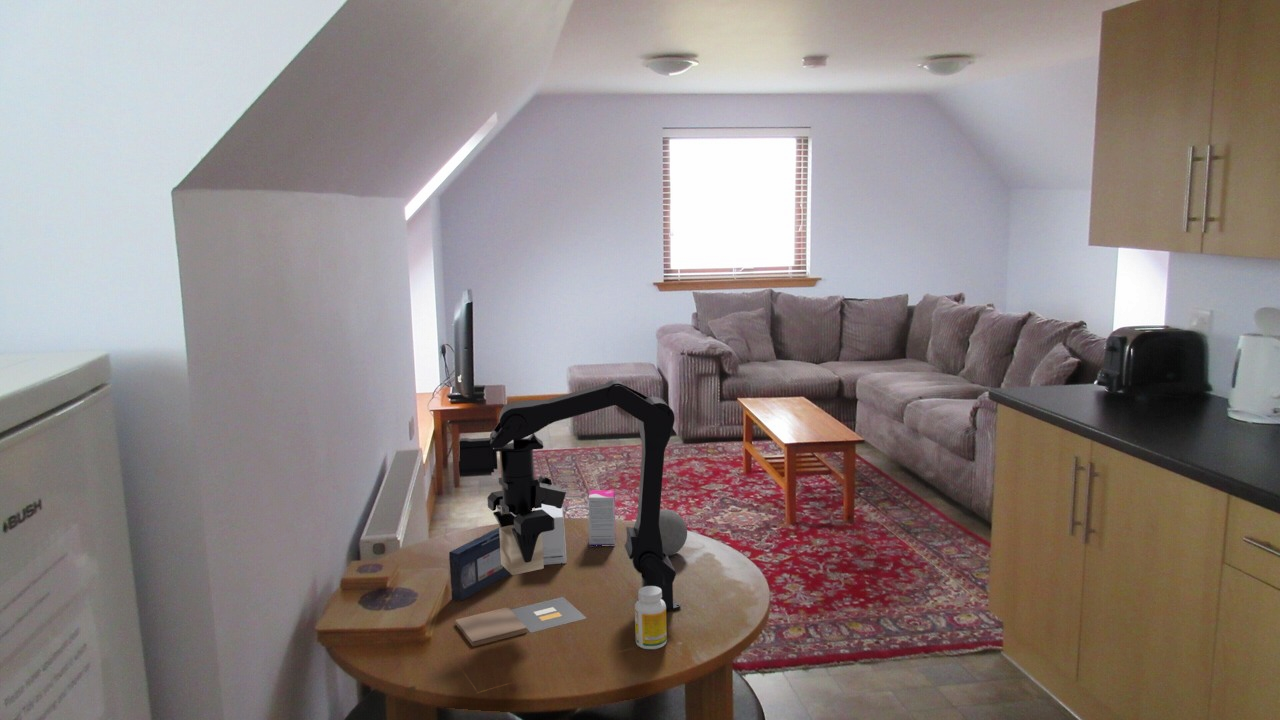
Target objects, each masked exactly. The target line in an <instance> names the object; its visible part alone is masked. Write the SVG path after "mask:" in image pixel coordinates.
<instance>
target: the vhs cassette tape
mask: <svg viewBox="0 0 1280 720" xmlns="http://www.w3.org/2000/svg"><path fill="white" fill-rule="evenodd" d="M448 554H449V558H448V559H449V573H450V587H451V590H450V591H451V599H452V600H455V601H458V602H462V601H463V600H466V599H467V598H469V597H471V596H473V595H474V594H476V593H479V592H481V591H482V590H484V589H485V588H488V587H490V586H491V585H493V584H495V583H497V582H499V581H501V580H502V579H504V578H506V577H507V576H510V575H511V574H510V573H509V572H508V571H507V570H506V569H505V568H504V567H503V566H502V565H501V555H500V535H499V527H497V528H494V529H493V530H491V531H489V532H486V533H485V534H483V535H481V536H480V537H477V538H475V539H473V540H471V541H469V542H466V543H465V544H463V545H461V546H459V547H456V548H455V549H453V550H451V551H449V553H448Z"/></svg>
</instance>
